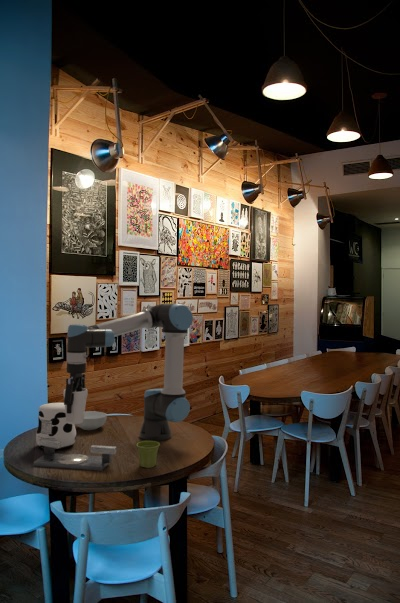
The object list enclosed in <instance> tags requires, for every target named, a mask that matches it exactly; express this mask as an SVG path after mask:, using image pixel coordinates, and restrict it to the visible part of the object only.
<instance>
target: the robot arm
mask: <svg viewBox="0 0 400 603" xmlns="http://www.w3.org/2000/svg"><path fill="white" fill-rule="evenodd" d="M193 320H194V315H193V312H192V310H191V309H190V307H188V306H187V305H185V304H181V303H160V304H156V305H153V306H150V307H146V308H143V309H142V310H141V311H140V312H138V313H133V314H129V315H125V316H123V317H118V318H114V319H111V320H108V321H104V322H103V321H102V322H100V323H97V324H93V325H88V326H87V325H86V324H80V323H79V324H77V323H75V324H74V323H72V324H69V326H68V327H67V335H66V337H67V343H66V344H67V345H66V347H67V348H66V349H67V350H66V362H67V363H66V373H68V374H70V375H69V378H66V380H65V385H66V386H65V389H66V390H65V398H64V397H63V403H64V405H67V406H66V421H69V422H73V417H74V405H73V401H74V393H73V394H72V392H75V391H76V392H80V391H82V388H85V389H86V374H85V373H86V369H87V364H86V361H87V357H88V355H87V348H108V347H112V346H113V345H114V343H115V337H117V336H121V335H124V334H128V333H131V332H135V331H139V330H142V329H147V330H149V329H152V328H162V334H163V335H164V336H165V348H164V375H163V376H164V378H163V379H164V380H163V381H164V382H163V388H152V389H151V388H150V389H146V390H145V391H144V393H143V394H144V396H143V422H142V425H141V428H140V430H139V437H140V438H141V439H142V440H144V441H156V442H159V441H166V440H169V439H170V438H171V437H172V430H171V427H170V423H169V422H171V423H180V422H182V421H184V420H185V419H186V418H187V417H188V415H189V413H190V409H191V404H190V402H189V400H188V399H187V398H186V394H187V393H186V390H185V389H184V388H183V384H184V382H183V381H184V380H183V379H184V378H183V377H184V352H185V351H184V350H185V337H186V335H187V334H188V329H189V328H191V326H192V324H193Z"/></svg>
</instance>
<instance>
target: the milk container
mask: <svg viewBox="0 0 400 603" xmlns="http://www.w3.org/2000/svg"><path fill="white" fill-rule="evenodd" d="M37 418H38V419H37V420H38V422H37V423H38V425H37V430H36V434H35V441H36V442H35V443H36V445H37V447H39V448H41V449H44V446H42V445H39V439H41V438H48V439H53V440H57V441H62V445H61V447H60V448H58V449H56V448H55V450H62V449H66V448H70V447H71V446H73V445H74V444H75V442H76V440H77V430H76V425H75V424H68V423H67V421H66V413H65V405H64V402H51V403H45V404H41V405H40V406H38V416H37Z"/></svg>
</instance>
